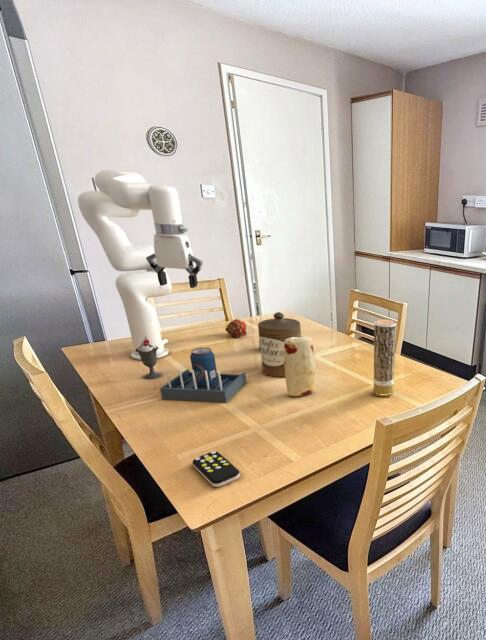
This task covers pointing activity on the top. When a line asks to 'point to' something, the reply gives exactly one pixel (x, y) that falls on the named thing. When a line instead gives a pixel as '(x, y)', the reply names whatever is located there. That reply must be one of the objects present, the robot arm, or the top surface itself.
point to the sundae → (148, 357)
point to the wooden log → (384, 357)
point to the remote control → (216, 469)
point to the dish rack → (188, 390)
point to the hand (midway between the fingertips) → (178, 286)
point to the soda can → (204, 367)
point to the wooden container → (276, 342)
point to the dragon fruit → (236, 328)
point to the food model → (299, 365)
